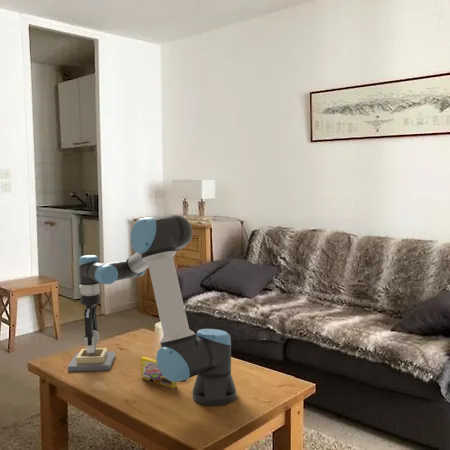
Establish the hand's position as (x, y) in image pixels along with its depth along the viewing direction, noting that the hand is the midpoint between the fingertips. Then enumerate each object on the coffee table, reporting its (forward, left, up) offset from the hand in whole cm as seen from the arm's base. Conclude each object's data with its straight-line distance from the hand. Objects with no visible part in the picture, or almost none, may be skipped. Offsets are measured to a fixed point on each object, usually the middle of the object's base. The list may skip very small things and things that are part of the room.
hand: (92, 349), depth 212 cm
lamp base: (0, 0, -6) cm, 6 cm away
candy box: (-22, -28, -6) cm, 36 cm away
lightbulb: (0, 0, -3) cm, 3 cm away
